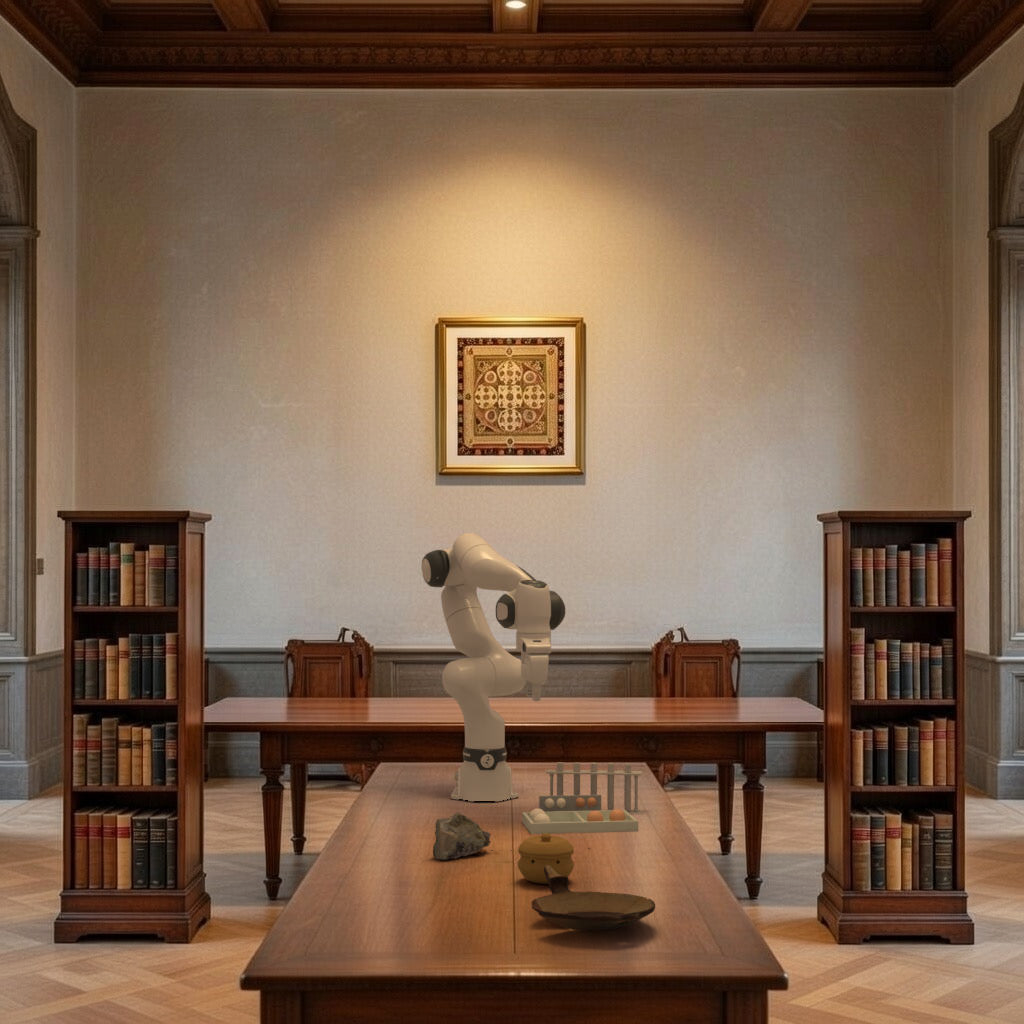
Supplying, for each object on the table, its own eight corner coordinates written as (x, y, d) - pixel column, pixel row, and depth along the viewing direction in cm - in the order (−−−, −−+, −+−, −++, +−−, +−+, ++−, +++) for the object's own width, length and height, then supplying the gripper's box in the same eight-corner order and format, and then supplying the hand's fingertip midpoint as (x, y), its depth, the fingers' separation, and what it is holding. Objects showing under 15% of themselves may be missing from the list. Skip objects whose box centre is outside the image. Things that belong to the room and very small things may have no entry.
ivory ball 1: (528, 823, 345) (528, 807, 345) (544, 822, 346) (544, 806, 346) (530, 826, 341) (531, 810, 341) (546, 826, 342) (546, 809, 342)
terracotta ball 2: (607, 824, 344) (607, 807, 345) (623, 823, 345) (623, 807, 345) (611, 827, 341) (611, 810, 341) (627, 826, 341) (627, 810, 341)
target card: (539, 819, 353) (539, 795, 353) (600, 818, 355) (600, 794, 355) (539, 820, 352) (539, 796, 352) (601, 819, 354) (601, 795, 354)
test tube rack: (641, 813, 363) (641, 762, 363) (641, 816, 358) (641, 765, 359) (546, 811, 365) (546, 761, 365) (545, 814, 361) (545, 763, 361)
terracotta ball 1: (585, 818, 343) (586, 807, 341) (600, 818, 344) (602, 806, 342) (587, 830, 340) (589, 819, 338) (603, 830, 341) (605, 818, 338)
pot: (534, 891, 279) (534, 841, 279) (507, 878, 289) (507, 830, 290) (584, 884, 284) (584, 835, 285) (556, 872, 295) (556, 825, 295)
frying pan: (540, 949, 239) (540, 904, 239) (522, 904, 269) (523, 865, 269) (667, 946, 241) (667, 902, 241) (636, 902, 271) (636, 863, 271)
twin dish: (522, 824, 347) (522, 812, 347) (625, 821, 351) (625, 809, 351) (531, 836, 332) (531, 823, 332) (638, 833, 336) (638, 821, 336)
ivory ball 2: (532, 828, 338) (532, 812, 339) (548, 828, 339) (548, 811, 339) (535, 831, 335) (535, 815, 335) (551, 831, 335) (551, 814, 335)
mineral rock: (490, 851, 315) (490, 807, 316) (490, 862, 304) (490, 816, 305) (434, 851, 315) (434, 807, 315) (432, 862, 304) (432, 816, 305)
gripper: (515, 641, 360) (515, 694, 360) (527, 647, 340) (527, 703, 340) (539, 641, 361) (539, 694, 361) (552, 646, 341) (552, 703, 341)
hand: (533, 698), depth 350 cm, fingers open, 8 cm apart
